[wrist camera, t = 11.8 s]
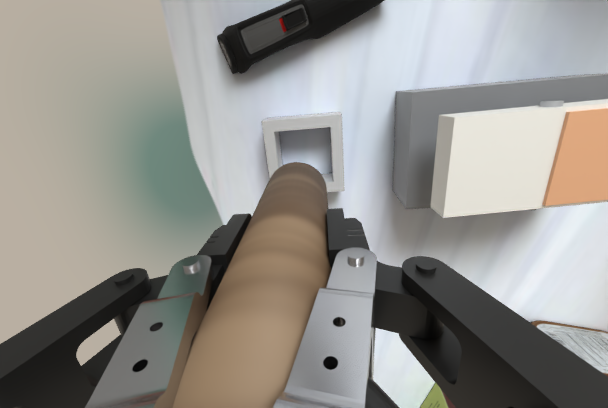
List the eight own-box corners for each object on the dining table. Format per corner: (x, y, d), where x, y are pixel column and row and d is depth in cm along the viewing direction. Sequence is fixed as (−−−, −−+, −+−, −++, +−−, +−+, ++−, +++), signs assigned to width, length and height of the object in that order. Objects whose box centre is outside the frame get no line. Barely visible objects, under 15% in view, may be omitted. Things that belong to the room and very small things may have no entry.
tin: (504, 329, 37) (554, 394, 29) (515, 311, 36) (569, 373, 28) (615, 347, 37) (693, 415, 29) (629, 329, 36) (714, 396, 28)
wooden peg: (264, 164, 17) (80, 457, 4) (325, 160, 16) (346, 461, 4) (272, 218, 18) (159, 560, 5) (328, 215, 18) (352, 569, 5)
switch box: (396, 91, 26) (421, 92, 20) (577, 74, 25) (666, 70, 19) (392, 190, 30) (412, 218, 24) (549, 180, 29) (616, 207, 23)
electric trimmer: (393, 10, 24) (403, -1, 22) (234, 78, 27) (225, 76, 24) (382, -41, 23) (392, -59, 20) (216, 36, 26) (204, 29, 23)
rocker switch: (439, 110, 19) (457, 112, 17) (638, 91, 19) (680, 91, 17) (430, 210, 22) (444, 223, 20) (603, 193, 22) (635, 204, 20)
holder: (267, 117, 28) (261, 121, 25) (339, 111, 27) (341, 114, 25) (276, 185, 31) (272, 195, 28) (342, 181, 30) (344, 191, 27)
